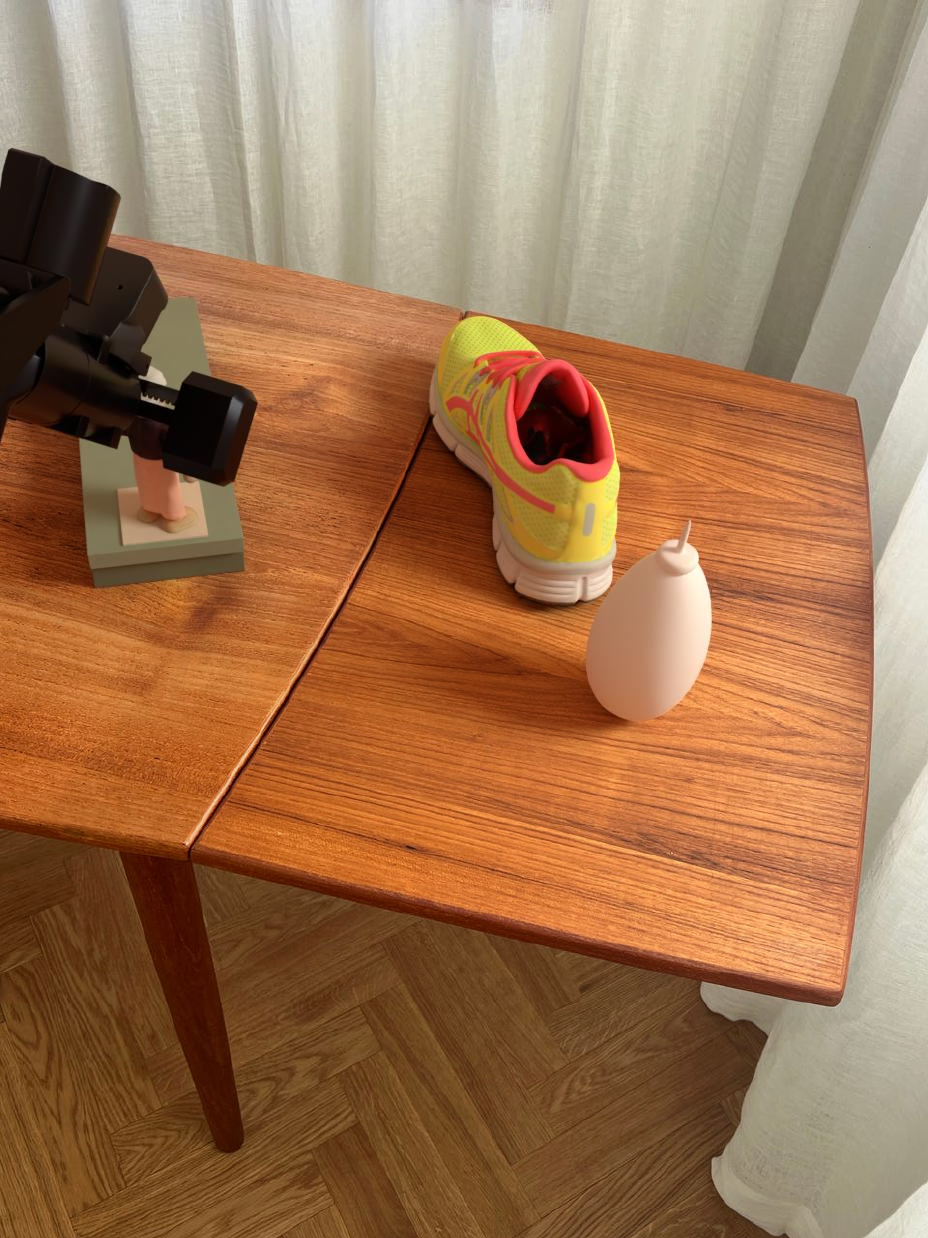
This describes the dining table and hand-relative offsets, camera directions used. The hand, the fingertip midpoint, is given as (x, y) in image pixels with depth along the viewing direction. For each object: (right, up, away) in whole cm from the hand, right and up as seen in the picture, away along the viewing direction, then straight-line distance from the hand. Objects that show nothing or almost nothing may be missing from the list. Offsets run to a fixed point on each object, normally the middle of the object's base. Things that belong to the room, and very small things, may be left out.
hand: (161, 419), depth 78 cm
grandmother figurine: (-1, -6, +5) cm, 8 cm away
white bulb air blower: (+33, -20, +2) cm, 39 cm away
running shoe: (+25, -2, +17) cm, 31 cm away
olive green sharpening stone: (-5, 0, +16) cm, 16 cm away
